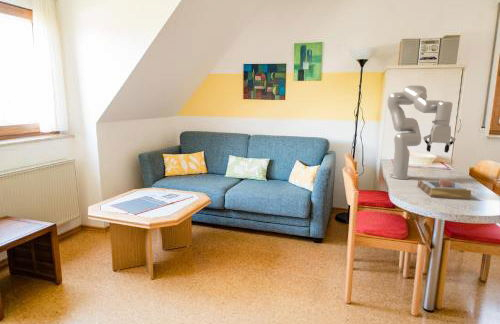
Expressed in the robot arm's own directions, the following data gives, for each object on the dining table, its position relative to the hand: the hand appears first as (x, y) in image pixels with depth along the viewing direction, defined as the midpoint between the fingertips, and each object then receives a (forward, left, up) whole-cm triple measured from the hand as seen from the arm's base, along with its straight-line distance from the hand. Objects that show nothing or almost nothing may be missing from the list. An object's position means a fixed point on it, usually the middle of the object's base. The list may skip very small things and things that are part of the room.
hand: (437, 151), depth 192 cm
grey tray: (+8, +4, -22) cm, 24 cm away
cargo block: (+8, +4, -21) cm, 23 cm away
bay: (+5, +4, -24) cm, 24 cm away
